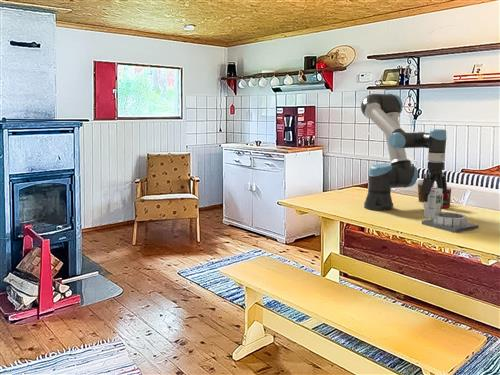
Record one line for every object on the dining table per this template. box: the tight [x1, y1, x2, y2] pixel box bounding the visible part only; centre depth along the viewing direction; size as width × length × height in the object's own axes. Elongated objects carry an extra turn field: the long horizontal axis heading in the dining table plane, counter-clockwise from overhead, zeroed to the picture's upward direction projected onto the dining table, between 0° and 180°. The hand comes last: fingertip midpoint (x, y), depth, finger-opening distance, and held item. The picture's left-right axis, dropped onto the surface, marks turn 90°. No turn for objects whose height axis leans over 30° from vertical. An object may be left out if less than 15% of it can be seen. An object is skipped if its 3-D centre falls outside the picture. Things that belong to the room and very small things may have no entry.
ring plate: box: [421, 211, 480, 233], centre depth 216 cm, size 18×16×5 cm
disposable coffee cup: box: [416, 179, 436, 203], centre depth 272 cm, size 10×10×12 cm
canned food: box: [435, 186, 452, 210], centre depth 256 cm, size 8×8×11 cm
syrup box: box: [423, 186, 442, 219], centre depth 233 cm, size 6×6×14 cm
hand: (432, 207), depth 233 cm, fingers open, 9 cm apart
